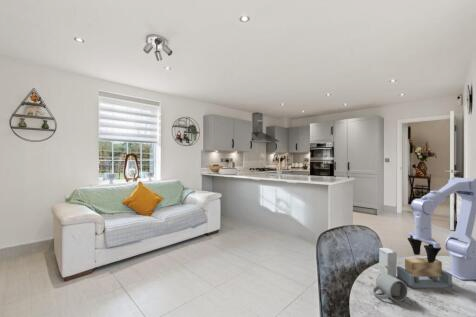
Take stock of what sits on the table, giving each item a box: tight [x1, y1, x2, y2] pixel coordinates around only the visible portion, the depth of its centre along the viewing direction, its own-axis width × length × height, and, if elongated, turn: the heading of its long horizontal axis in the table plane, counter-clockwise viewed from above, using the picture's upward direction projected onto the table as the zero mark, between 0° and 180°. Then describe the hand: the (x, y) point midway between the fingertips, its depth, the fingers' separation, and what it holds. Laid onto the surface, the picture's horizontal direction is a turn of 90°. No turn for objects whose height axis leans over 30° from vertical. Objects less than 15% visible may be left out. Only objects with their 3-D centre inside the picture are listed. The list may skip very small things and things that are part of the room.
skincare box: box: [378, 247, 398, 278], centre depth 103 cm, size 6×4×12 cm
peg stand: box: [396, 266, 453, 289], centre depth 98 cm, size 17×8×5 cm, turn 89°
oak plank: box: [404, 257, 443, 277], centre depth 98 cm, size 12×4×6 cm, turn 89°
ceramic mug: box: [372, 273, 408, 303], centre depth 89 cm, size 11×8×8 cm
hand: (423, 258), depth 99 cm, fingers open, 7 cm apart
